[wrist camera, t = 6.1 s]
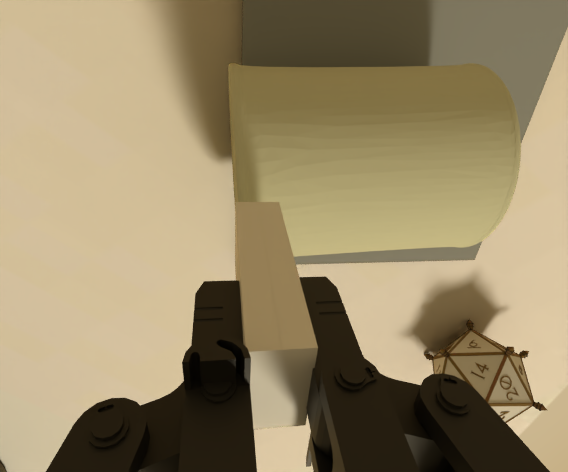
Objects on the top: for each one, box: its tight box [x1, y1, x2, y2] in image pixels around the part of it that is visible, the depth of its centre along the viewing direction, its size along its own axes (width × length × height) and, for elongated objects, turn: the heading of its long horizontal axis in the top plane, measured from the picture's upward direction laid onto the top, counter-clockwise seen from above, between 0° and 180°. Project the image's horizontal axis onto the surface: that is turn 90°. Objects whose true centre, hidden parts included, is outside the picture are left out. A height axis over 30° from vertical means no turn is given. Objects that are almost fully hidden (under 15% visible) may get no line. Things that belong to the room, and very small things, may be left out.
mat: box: [242, 0, 568, 264], centre depth 25 cm, size 18×18×1 cm
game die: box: [424, 320, 547, 423], centre depth 33 cm, size 9×8×10 cm
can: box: [228, 63, 521, 257], centre depth 20 cm, size 9×9×12 cm
